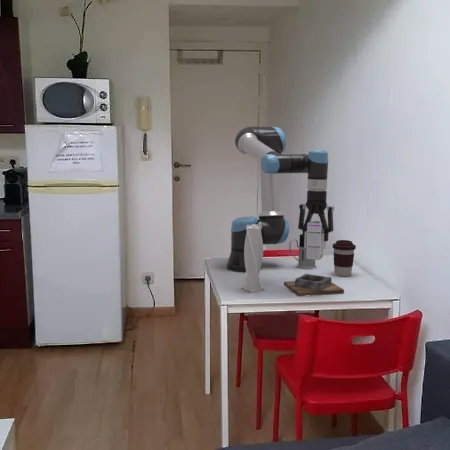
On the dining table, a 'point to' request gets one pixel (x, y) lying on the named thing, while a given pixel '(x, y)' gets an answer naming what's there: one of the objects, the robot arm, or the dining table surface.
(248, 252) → the skyscraper
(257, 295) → the dining table surface
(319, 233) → the syrup box
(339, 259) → the coffee cup
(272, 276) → the dining table surface
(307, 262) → the glass holder
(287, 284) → the socket board
